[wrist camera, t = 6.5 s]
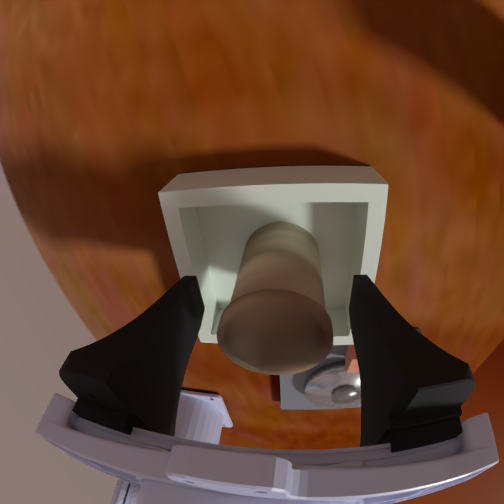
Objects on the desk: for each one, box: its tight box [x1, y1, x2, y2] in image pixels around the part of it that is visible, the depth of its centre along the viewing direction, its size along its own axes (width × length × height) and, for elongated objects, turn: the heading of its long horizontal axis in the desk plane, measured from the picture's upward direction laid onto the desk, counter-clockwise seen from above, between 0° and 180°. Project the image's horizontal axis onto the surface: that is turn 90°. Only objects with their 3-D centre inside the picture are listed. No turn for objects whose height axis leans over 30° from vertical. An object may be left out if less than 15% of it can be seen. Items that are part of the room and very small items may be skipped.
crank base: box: [280, 328, 422, 409], centre depth 20 cm, size 10×10×2 cm
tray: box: [158, 166, 388, 345], centre depth 15 cm, size 10×10×3 cm
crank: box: [305, 362, 361, 409], centre depth 19 cm, size 9×6×4 cm
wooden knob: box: [217, 222, 333, 375], centre depth 13 cm, size 4×4×6 cm
